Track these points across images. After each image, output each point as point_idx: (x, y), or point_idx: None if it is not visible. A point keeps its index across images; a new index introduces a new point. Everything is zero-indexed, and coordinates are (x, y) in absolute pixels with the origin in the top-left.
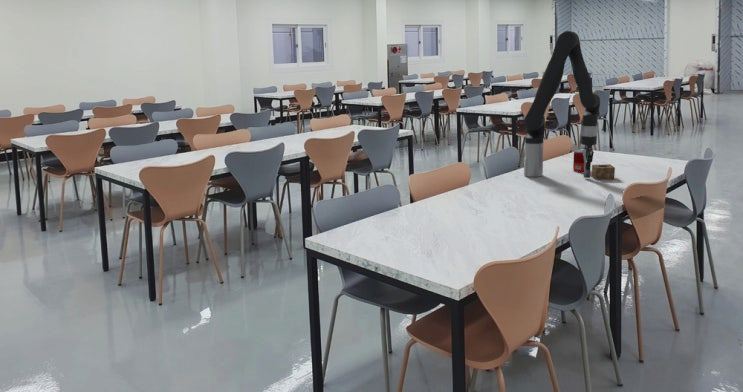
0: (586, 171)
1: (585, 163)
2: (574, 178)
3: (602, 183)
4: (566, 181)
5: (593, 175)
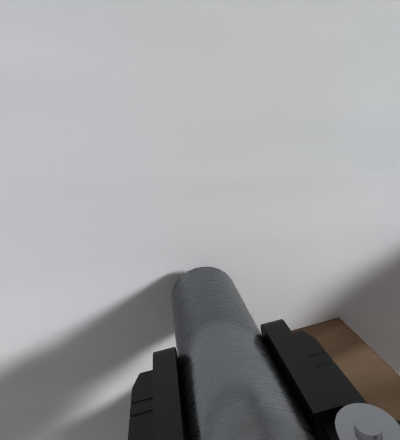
0: (177, 336)
1: (203, 415)
2: (222, 166)
3: (21, 428)
4: (24, 73)
5: None
